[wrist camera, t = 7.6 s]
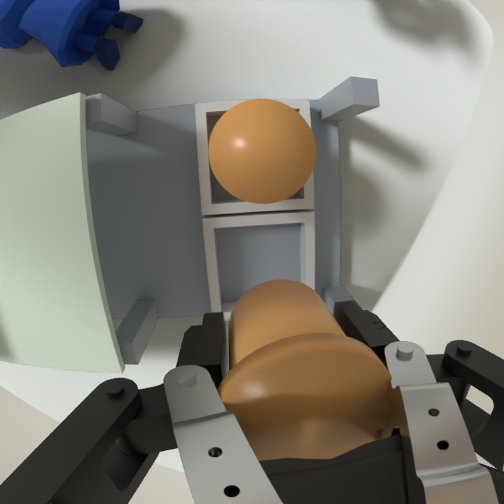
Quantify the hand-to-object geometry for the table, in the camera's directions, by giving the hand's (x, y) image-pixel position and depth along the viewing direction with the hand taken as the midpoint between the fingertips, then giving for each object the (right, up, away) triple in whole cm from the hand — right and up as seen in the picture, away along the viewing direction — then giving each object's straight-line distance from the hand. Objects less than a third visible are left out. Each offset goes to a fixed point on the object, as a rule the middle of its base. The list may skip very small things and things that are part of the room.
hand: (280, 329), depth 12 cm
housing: (-9, +5, +8) cm, 13 cm away
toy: (-16, +21, +4) cm, 27 cm away
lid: (-15, +3, +1) cm, 15 cm away
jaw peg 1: (-1, +9, +7) cm, 11 cm away
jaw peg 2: (0, 0, 0) cm, 0 cm away
